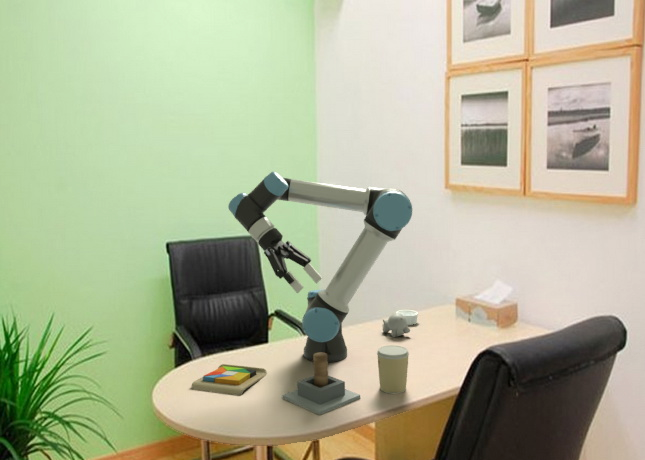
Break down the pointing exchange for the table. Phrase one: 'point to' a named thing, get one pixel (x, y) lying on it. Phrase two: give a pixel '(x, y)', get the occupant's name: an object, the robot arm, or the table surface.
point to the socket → (321, 395)
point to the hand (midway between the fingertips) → (310, 285)
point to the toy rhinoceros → (396, 325)
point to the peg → (320, 369)
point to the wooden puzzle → (229, 379)
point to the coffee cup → (392, 368)
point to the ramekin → (409, 316)
